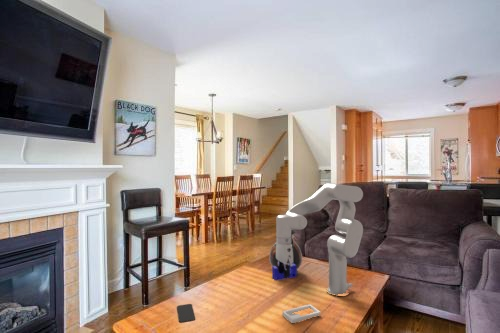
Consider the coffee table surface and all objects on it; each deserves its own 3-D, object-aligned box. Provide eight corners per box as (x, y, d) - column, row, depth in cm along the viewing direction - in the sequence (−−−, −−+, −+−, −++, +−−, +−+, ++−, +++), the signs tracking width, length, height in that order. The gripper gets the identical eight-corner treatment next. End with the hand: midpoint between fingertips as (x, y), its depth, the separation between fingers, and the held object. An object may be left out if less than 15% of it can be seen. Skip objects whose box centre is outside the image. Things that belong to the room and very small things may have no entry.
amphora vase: (264, 269, 190) (264, 228, 190) (293, 265, 196) (293, 226, 196) (276, 281, 169) (277, 235, 169) (308, 277, 176) (308, 233, 176)
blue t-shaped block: (292, 273, 146) (292, 262, 146) (296, 276, 142) (296, 265, 142) (271, 277, 142) (271, 265, 142) (274, 280, 138) (274, 268, 138)
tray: (310, 308, 138) (310, 304, 138) (320, 316, 131) (320, 311, 131) (282, 315, 131) (282, 311, 131) (292, 324, 124) (292, 319, 124)
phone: (179, 322, 125) (176, 305, 139) (179, 323, 125) (176, 307, 139) (195, 319, 127) (191, 303, 141) (195, 321, 127) (191, 305, 141)
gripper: (299, 243, 136) (299, 280, 136) (281, 235, 151) (281, 268, 151) (286, 245, 133) (286, 283, 133) (269, 236, 148) (269, 270, 148)
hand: (283, 274), depth 142 cm, fingers closed on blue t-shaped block, 4 cm apart
